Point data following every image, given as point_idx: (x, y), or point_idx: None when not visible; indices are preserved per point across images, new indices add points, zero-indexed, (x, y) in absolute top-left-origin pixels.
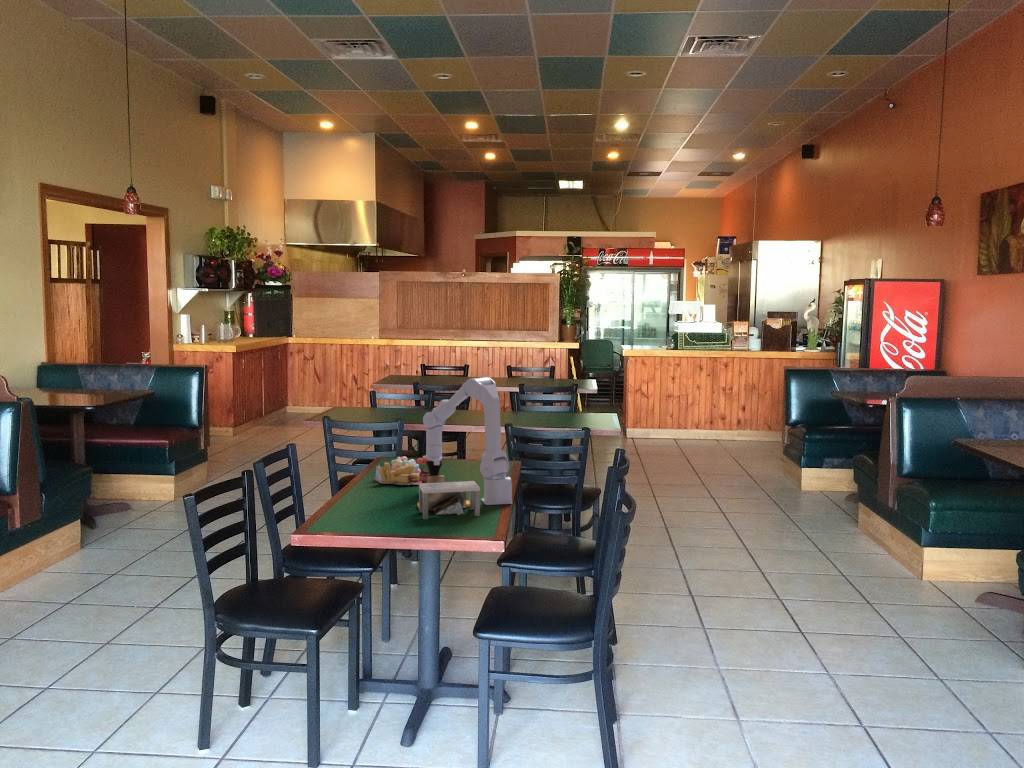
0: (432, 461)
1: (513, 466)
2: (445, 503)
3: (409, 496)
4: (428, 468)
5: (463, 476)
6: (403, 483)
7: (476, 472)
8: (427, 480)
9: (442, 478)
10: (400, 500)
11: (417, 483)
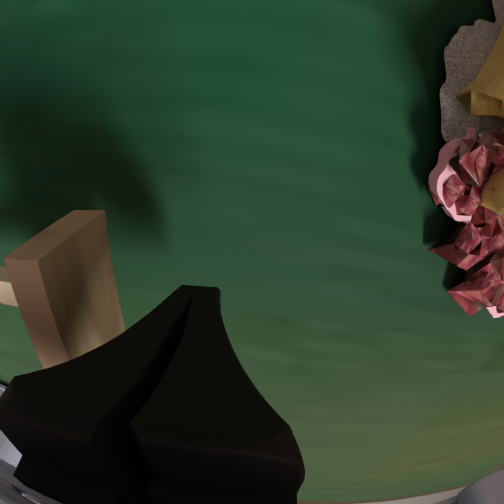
0: (35, 485)
1: (459, 487)
2: None
3: (71, 54)
4: (214, 366)
5: (466, 420)
6: (464, 67)
7: (478, 443)
8: (65, 238)
9: None
10: (6, 16)
11: (435, 176)
